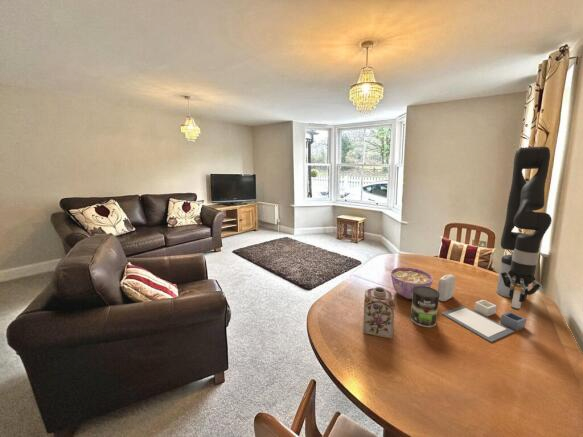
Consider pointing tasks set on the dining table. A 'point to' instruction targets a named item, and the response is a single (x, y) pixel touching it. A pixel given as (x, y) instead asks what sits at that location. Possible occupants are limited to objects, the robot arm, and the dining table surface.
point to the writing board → (478, 323)
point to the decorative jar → (379, 312)
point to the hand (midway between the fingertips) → (516, 299)
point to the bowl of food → (409, 280)
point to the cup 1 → (485, 307)
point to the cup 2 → (513, 321)
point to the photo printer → (446, 287)
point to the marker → (516, 298)
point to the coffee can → (424, 306)
